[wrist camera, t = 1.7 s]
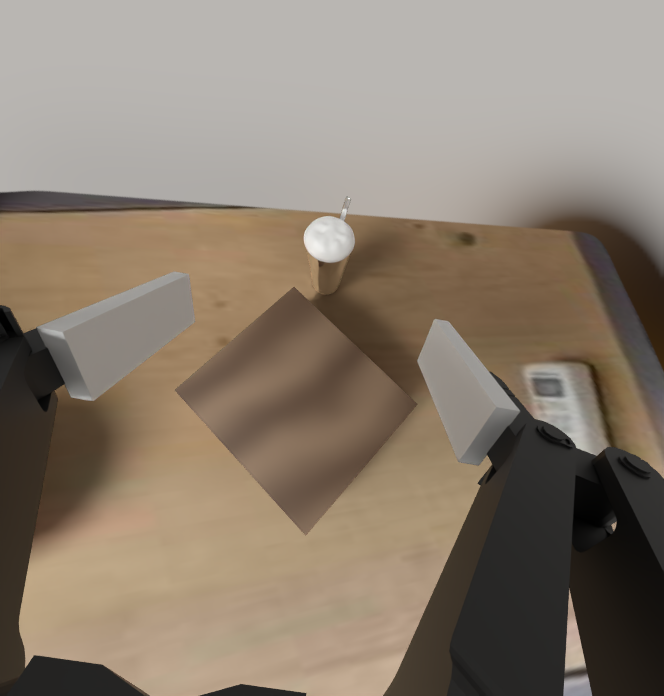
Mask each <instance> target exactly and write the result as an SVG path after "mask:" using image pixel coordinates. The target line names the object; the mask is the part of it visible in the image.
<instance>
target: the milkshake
mask: <svg viewBox="0 0 664 696" xmlns="http://www.w3.org/2000/svg"><path fill="white" fill-rule="evenodd" d="M350 201H351V199H350V198H348V197H346V199H345V202H344V206H343V209H342V212H341V216H340V219H339V218H336V217H332V216H325V217H321V218H318V219H316V220H314V221H313V222H312V223H311V224H310V225H309V226H308V227H307V229H306V231H305V233H304V243H305V248H306V252H307V257H308V261H309V266H310V272H311V278H312V284H313V288H314V289H315V290H316V291H317V292H318V293H320V294H325V295H328V294H331V293H334V292H335V291H336V289H337V288H338V286H339V284H340V281H341V278H342V276H343V273H344V270H345V267H346V264H347V262H348V259H349V257H350V255H351V252H352V250H353V248H354V244H355V238H354V233H353V230H352V229H351V227H350V226H349V225H348V224H347V223H345V222H344V220H345V217H346V214H347V210H348V207H349V204H350Z"/></svg>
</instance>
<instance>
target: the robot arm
mask: <svg viewBox="0 0 664 696" xmlns="http://www.w3.org/2000/svg"><path fill="white" fill-rule="evenodd" d="M194 322H195V317H194V309H193V301H192V294H191V286H190V278H189V274H185V273H180V272H172V273H169V274H167V275H164V276H162V277H159V278H157V279H154V280H152V281H150V282H147V283H145V284H142V285H140V286H137V287H135V288H132V289H130V290H127V291H125V292H122V293H120V294H117V295H115V296H112V297H110V298H107V299H105V300H102V301H100V302H98V303H95V304H93V305H90V306H88V307H85V308H83V309H80V310H78V311H75V312H73V313H70V314H68V315H65V316H63V317H60V318H58V319H55V320H53V321H50V322H48V323H46V324H43V325H41V326H38V327H36V329H33V330H31V331H28V332H26V333H23V332H22V330H21V328H20V326H19V324H18V322H17V320H16V318H15V317H14V315H13V313H12V311H11V309H10V308H8V307H6V306H2V305H0V696H149V695H148V694H147V693H145V692H144V691H142V690H141V689H139V688H138V687H136V686H135V685H133V684H132V683H130V682H128V681H127V680H125V679H124V678H122V677H121V676H119V675H118V674H116V673H114V672H113V671H111V670H110V669H108V668H107V667H105V666H104V665H100V664H93V663H86V662H79V661H72V660H65V659H57V658H50V657H43V656H36V655H34V657H33V658H32V659H31V661H30V662H29V664H28V665H27V667H26V668H25V651H24V645H23V642H22V639H21V636H20V632H19V614H20V608H21V603H22V597H23V592H24V586H25V580H26V575H27V569H28V564H29V558H30V553H31V547H32V541H33V536H34V530H35V525H36V519H37V514H38V508H39V502H40V497H41V491H42V486H43V480H44V475H45V469H46V463H47V458H48V452H49V447H50V441H51V436H52V430H53V424H54V419H55V413H56V408H57V402H58V398H57V395H56V393H55V391H54V390H56V389H57V388H59V387H60V386H62V385H64V384H65V386H66V388H67V390H68V392H69V394H70V396H71V398H77V399H83V400H89V401H94V400H95V399H97V398H98V397H99V396H100V395H102V394H103V393H104V392H106V391H107V390H108V389H109V388H111V387H112V386H113V385H115V384H116V383H117V382H118V381H120V380H121V379H122V378H124V377H125V376H126V375H127V374H129V373H130V372H131V371H133V370H134V369H135V368H136V367H138V366H139V365H140V364H142V363H143V362H144V361H145V360H147V359H148V358H149V357H151V356H152V355H153V354H154V353H156V352H157V351H158V350H160V349H161V348H162V347H163V346H165V345H166V344H167V343H169V342H170V341H171V340H172V339H174V338H175V337H176V336H177V335H179V334H180V333H181V332H183V331H184V330H185V329H186V328H188V327H189V326H190V325H192V324H193V323H194ZM417 362H418V364H419V367H420V369H421V372H422V374H423V376H424V379H425V381H426V384H427V386H428V389H429V391H430V394H431V396H432V398H433V401H434V403H435V406H436V408H437V411H438V413H439V416H440V418H441V421H442V423H443V425H444V428H445V430H446V433H447V435H448V438H449V440H450V443H451V445H452V448H453V450H454V452H455V455H456V457H457V460H458V462H461V463H467V464H473V465H480V463H481V462H482V461H483V459H484V458H485V457H486V455H488V457H489V459H490V461H491V462H492V466H491V467H490V468H489V469H488V471H487V472H486V473H485V474H484V476H483V477H482V478H481V479H480V481H479V482H478V484H479V485H481V486H480V488H479V491H478V493H477V495H476V497H475V500H474V502H473V504H472V506H471V509H470V511H469V513H468V515H467V518H466V520H465V522H464V524H463V526H462V529H461V531H460V533H459V535H458V538H457V540H456V542H455V544H454V547H453V549H452V551H451V553H450V556H449V558H448V560H447V562H446V565H445V567H444V569H443V571H442V573H441V576H440V578H439V580H438V582H437V585H436V587H435V589H434V591H433V594H432V596H431V598H430V600H429V603H428V605H427V607H426V609H425V611H424V614H423V616H422V618H421V620H420V623H419V625H418V627H417V629H416V632H415V634H414V636H413V638H412V641H411V643H410V645H409V647H408V650H407V652H406V654H405V656H404V658H403V661H402V663H401V665H400V667H399V670H398V672H397V674H396V676H395V678H394V679H393V681H392V683H391V685H390V686H389V688H388V689H387V691H386V692H385V694H384V695H383V696H563V689H564V671H565V653H566V635H567V617H568V599H569V588H570V593H571V598H572V602H573V607H574V612H575V616H576V621H577V626H578V630H579V635H580V640H581V644H582V649H583V654H584V659H585V663H586V668H587V673H588V677H589V682H590V687H591V691H592V696H664V479H663V478H662V476H661V475H660V474H659V473H658V472H657V471H656V470H655V469H653V468H652V467H651V466H650V465H649V464H648V463H647V462H645V461H644V460H641V458H639V457H637V456H636V455H633V454H630V453H628V452H626V451H624V450H621V449H618V448H615V447H607V448H606V449H604V450H603V451H602V452H601V453H600V454H599V455H598V456H595V455H593V454H590V453H588V452H585V451H582V450H580V449H577V448H576V446H575V444H574V443H573V441H572V440H571V439H570V438H569V437H568V436H567V435H566V434H565V433H563V432H562V431H561V430H559V429H558V428H556V427H554V426H553V425H551V424H548V423H546V422H544V421H540V420H536V419H534V418H533V417H532V416H531V414H530V413H529V412H528V411H527V410H526V408H525V407H524V406H523V405H522V404H521V402H520V401H519V400H518V399H517V398H516V397H515V395H514V394H513V393H512V392H511V390H509V388H508V387H507V386H506V384H505V383H504V382H503V381H502V380H501V379H500V378H498V377H497V376H496V375H494V374H493V373H492V372H489V371H488V370H487V369H486V368H485V366H484V365H483V364H482V363H481V361H480V360H479V359H478V358H477V356H476V355H475V354H474V353H473V351H472V350H471V349H470V348H469V346H468V345H467V344H466V343H465V341H464V340H463V339H462V338H461V336H460V335H459V334H458V333H457V331H456V330H455V329H454V328H453V326H452V325H451V324H450V323H449V321H444V320H439V319H434V321H433V324H432V326H431V329H430V331H429V334H428V336H427V338H426V341H425V343H424V346H423V348H422V351H421V353H420V355H419V358H418V360H417ZM616 521H617V524H616V528H615V531H613V529H612V526H611V525H612V524H613V523H615V522H616ZM200 696H306V693H301V692H294V691H287V690H279V689H272V688H265V687H258V686H251V685H244V684H240V685H236V686H233V687H229V688H225V689H222V690H218V691H215V692H211V693H208V694H204V695H200Z"/></svg>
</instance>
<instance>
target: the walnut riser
mask: <svg viewBox="0 0 664 696" xmlns="http://www.w3.org/2000/svg"><path fill="white" fill-rule="evenodd" d="M175 391H176V392H177V393H178V394H179V395H180V397H181V398H182V399H183V400H184V401H185V402H186V403H187V404H188V405H189V407H190V408H191V409H192V410H193V411H194V412H195V413H196V414H197V415H198V417H199V418H200V419H201V420H202V421H203V422H204V423H205V424H206V425H207V427H208V428H209V429H210V430H211V431H212V432H213V433H214V434H215V435H216V437H217V438H218V439H219V440H220V441H221V442H222V443H223V444H224V445H225V447H226V448H227V449H228V450H229V451H230V452H231V453H232V454H233V455H234V457H235V458H236V459H237V460H238V461H239V462H240V463H241V464H242V465H243V467H244V468H245V469H246V470H247V471H248V472H249V473H250V474H251V475H252V477H253V478H254V479H255V480H256V481H257V482H258V483H259V484H260V485H261V487H262V488H263V489H264V490H265V491H266V492H267V493H268V494H269V495H270V497H271V498H272V499H273V500H274V501H275V502H276V503H277V504H278V505H279V507H280V508H281V509H282V510H283V511H284V512H285V513H286V514H287V515H288V517H289V518H290V519H291V520H292V521H293V522H294V523H295V524H296V525H297V527H298V528H299V529H300V530H301V531H302V532H303V533H304V534H305V535H307V534H308V532H309V531H310V530H311V529H312V528H313V527H314V525H315V524H316V523H317V522H318V521H319V519H320V518H321V517H322V516H323V515H324V514H325V512H326V511H327V510H328V509H329V508H330V507H331V505H332V504H333V503H334V502H335V501H336V499H337V498H338V497H339V496H340V495H341V494H342V492H343V491H344V490H345V489H346V488H347V487H348V485H349V484H350V483H351V482H352V481H353V480H354V478H355V477H356V476H357V475H358V474H359V472H360V471H361V470H362V469H363V468H364V467H365V465H366V464H367V463H368V462H369V461H370V460H371V458H372V457H373V456H374V455H375V454H376V452H377V451H378V450H379V449H380V448H381V447H382V445H383V444H384V443H385V442H386V441H387V440H388V438H389V437H390V436H391V435H392V434H393V433H394V431H395V430H396V429H397V428H398V427H399V425H400V424H401V423H402V422H403V421H404V420H405V418H406V417H407V416H408V415H409V414H410V413H411V411H412V410H413V409H414V408H415V407H416V405H417V403H416V402H415V401H414V400H413V399H412V398H411V397H409V396H408V395H407V394H406V393H405V392H404V391H403V390H402V389H401V388H400V387H399V386H398V385H397V384H396V383H395V382H394V381H393V380H392V379H391V378H389V377H388V376H387V375H386V374H385V373H384V372H383V371H382V370H381V369H380V368H379V367H378V366H377V365H376V364H375V363H374V362H373V361H372V360H371V359H369V358H368V357H367V356H366V355H365V354H364V353H363V352H362V351H361V350H360V349H359V348H358V347H357V346H356V345H355V344H354V343H353V342H352V341H351V340H349V339H348V338H347V337H346V336H345V335H344V334H343V333H342V332H341V331H340V330H339V329H338V328H337V327H336V326H335V325H334V324H333V323H332V322H331V321H329V320H328V319H327V318H326V317H325V316H324V315H323V314H322V313H321V312H320V311H319V310H318V309H317V308H316V307H315V306H314V305H313V304H312V303H311V302H309V301H308V300H307V299H306V298H305V297H304V296H303V295H302V294H301V293H300V292H299V291H298V290H297V289H296V288H295V287H293V288H292V289H291V290H290V291H288V292H287V293H286V294H285V295H284V296H283V297H282V298H280V299H279V300H278V301H277V302H276V303H275V304H273V305H272V306H271V307H270V308H269V309H268V310H266V311H265V312H264V313H263V314H262V315H261V316H260V317H258V318H257V319H256V320H255V321H254V322H253V323H251V324H250V325H249V326H248V327H247V328H246V329H245V330H243V331H242V332H241V333H240V334H239V335H238V336H236V337H235V338H234V339H233V340H232V341H231V342H229V343H228V344H227V345H226V346H225V347H224V348H223V349H221V350H220V351H219V352H218V353H217V354H216V355H214V356H213V357H212V358H211V359H210V360H209V361H208V362H206V363H205V364H204V365H203V366H202V367H201V368H199V369H198V370H197V371H196V372H195V373H194V374H192V375H191V376H190V377H189V378H188V379H187V380H186V381H184V382H183V383H182V384H181V385H180V386H179V387H177V388H176V389H175Z"/></svg>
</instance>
